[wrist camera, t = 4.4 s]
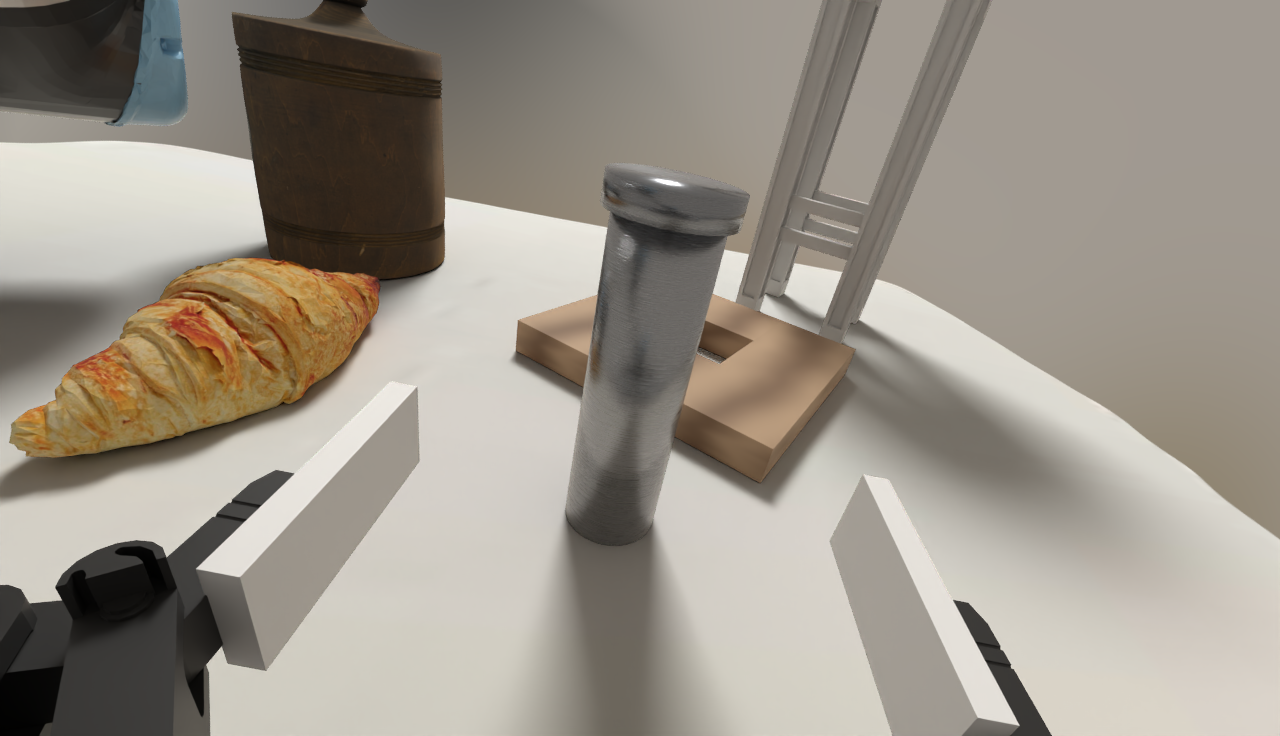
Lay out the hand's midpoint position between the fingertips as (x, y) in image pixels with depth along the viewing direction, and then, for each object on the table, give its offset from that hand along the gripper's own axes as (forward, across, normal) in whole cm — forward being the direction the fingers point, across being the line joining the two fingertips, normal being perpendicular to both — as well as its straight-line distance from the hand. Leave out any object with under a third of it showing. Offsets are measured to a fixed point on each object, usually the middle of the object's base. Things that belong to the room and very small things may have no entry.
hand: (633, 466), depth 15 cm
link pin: (+7, 0, -9) cm, 11 cm away
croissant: (+13, -23, -9) cm, 28 cm away
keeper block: (+25, +4, -9) cm, 27 cm away
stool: (+43, +16, -9) cm, 47 cm away
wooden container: (+35, -28, -9) cm, 46 cm away
